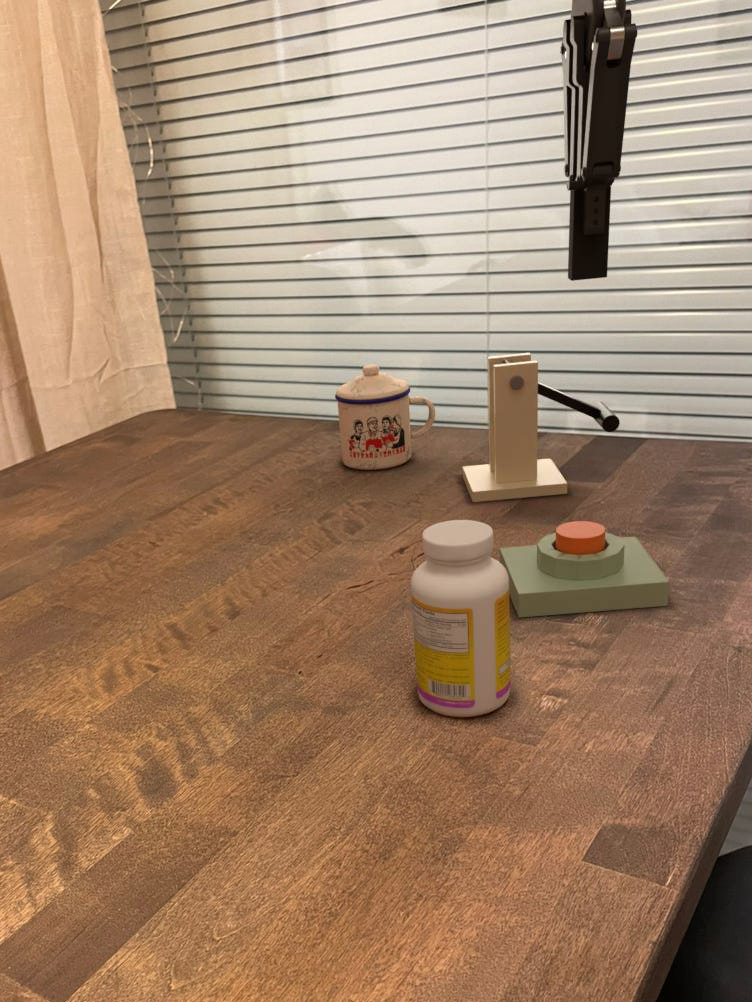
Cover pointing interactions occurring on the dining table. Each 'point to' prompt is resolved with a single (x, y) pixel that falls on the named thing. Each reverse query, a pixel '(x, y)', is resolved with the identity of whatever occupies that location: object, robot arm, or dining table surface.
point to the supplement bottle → (461, 621)
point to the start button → (580, 538)
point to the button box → (583, 578)
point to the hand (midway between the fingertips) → (587, 277)
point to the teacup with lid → (377, 420)
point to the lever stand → (513, 437)
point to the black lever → (581, 406)
